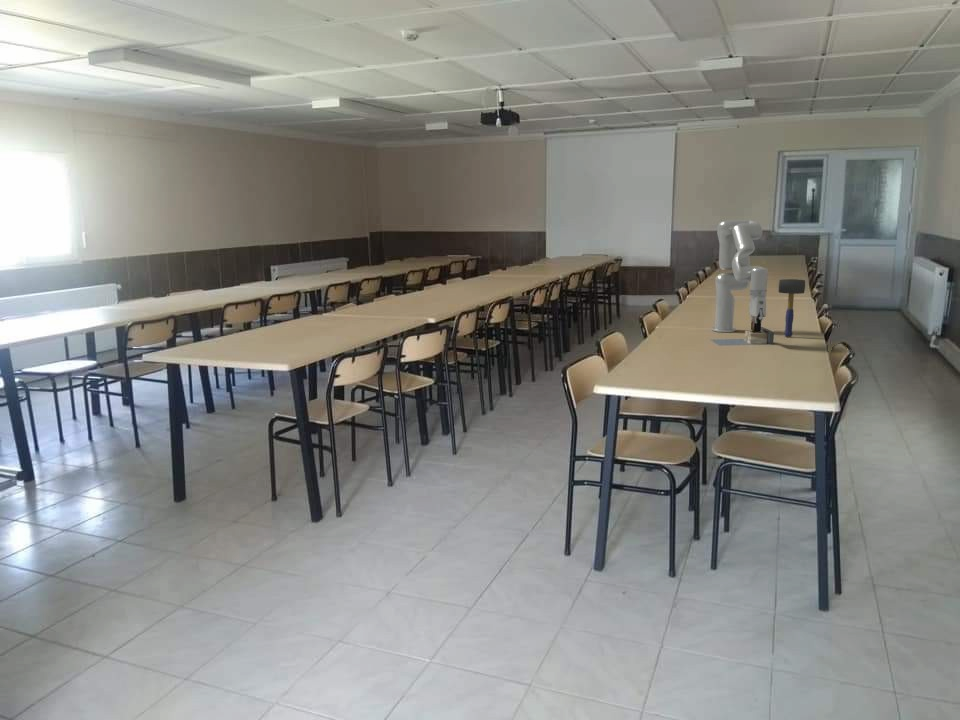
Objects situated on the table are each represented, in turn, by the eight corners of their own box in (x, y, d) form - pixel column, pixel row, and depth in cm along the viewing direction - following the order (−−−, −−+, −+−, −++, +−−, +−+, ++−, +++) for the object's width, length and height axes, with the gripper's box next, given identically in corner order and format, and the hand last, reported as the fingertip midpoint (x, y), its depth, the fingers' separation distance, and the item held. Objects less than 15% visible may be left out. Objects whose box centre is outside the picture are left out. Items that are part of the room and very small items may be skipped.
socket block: (744, 340, 350) (745, 330, 349) (760, 340, 350) (761, 330, 348) (750, 343, 342) (750, 333, 341) (766, 343, 342) (767, 333, 341)
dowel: (750, 335, 347) (752, 311, 345) (757, 335, 347) (758, 311, 345) (753, 336, 344) (754, 312, 342) (759, 336, 344) (761, 312, 342)
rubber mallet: (801, 336, 365) (805, 278, 359) (801, 338, 358) (805, 280, 352) (775, 335, 370) (779, 278, 364) (774, 337, 363) (778, 279, 357)
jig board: (709, 342, 354) (710, 327, 353) (761, 341, 354) (762, 326, 353) (719, 348, 340) (719, 333, 338) (772, 347, 339) (774, 332, 338)
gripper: (772, 295, 333) (770, 333, 337) (759, 291, 349) (757, 327, 353) (756, 295, 333) (754, 333, 337) (744, 291, 349) (742, 328, 353)
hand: (755, 330), depth 345 cm, fingers closed on dowel, 3 cm apart
